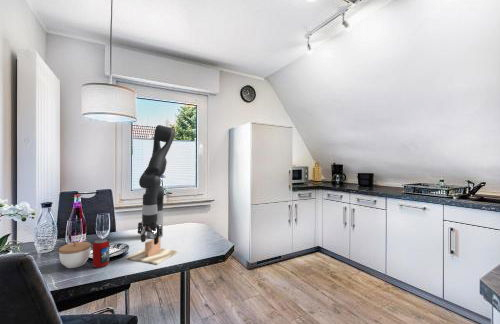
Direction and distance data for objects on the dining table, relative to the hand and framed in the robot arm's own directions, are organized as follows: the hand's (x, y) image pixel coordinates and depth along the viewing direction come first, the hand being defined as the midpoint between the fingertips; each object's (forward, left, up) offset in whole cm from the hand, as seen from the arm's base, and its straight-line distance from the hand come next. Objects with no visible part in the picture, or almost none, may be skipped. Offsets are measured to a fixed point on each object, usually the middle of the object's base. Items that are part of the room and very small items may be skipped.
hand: (149, 242), depth 129 cm
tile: (+1, +1, -6) cm, 6 cm away
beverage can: (-13, -18, -7) cm, 23 cm away
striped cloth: (+2, 0, -7) cm, 7 cm away
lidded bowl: (-25, -22, -7) cm, 34 cm away
